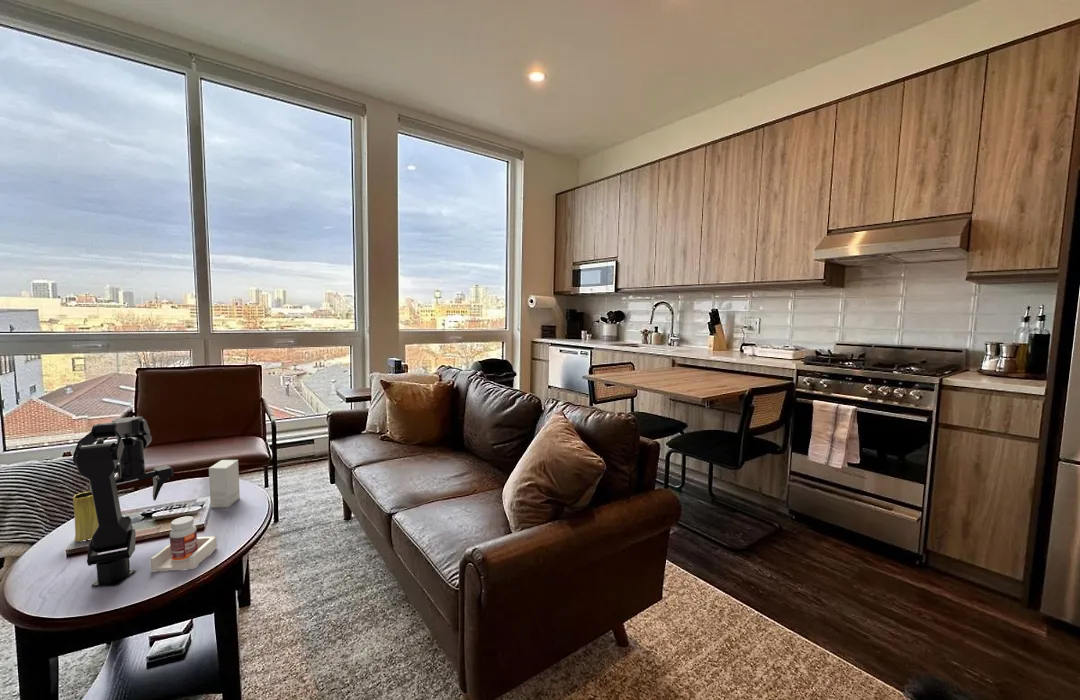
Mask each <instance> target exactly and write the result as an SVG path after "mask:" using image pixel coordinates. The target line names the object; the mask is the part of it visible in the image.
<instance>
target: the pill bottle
mask: <svg viewBox="0 0 1080 700" xmlns="http://www.w3.org/2000/svg"><path fill="white" fill-rule="evenodd" d="M194 521H195V519H194V517H193V516H190V515H185V516H182V517H178V518H175V519H173V520H171V522H170V528H171V531H170V532H169V544H170V548H171V559H172V561H175V562H182V561H186V560H189V557H190V556H191V555H192V554H193V553H194V552H195V551H196V550H198V547H197V537H198V534H197V532H198V531H197V530H198V529H197V526H196V525H195V522H194Z"/></svg>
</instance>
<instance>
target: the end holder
mask: <svg viewBox="0 0 1080 700" xmlns="http://www.w3.org/2000/svg"><path fill="white" fill-rule="evenodd" d="M217 545H218V542H217V536H215V535H212V536H197V547H198V550H196V551H195V552H194V553H193V554H192V555H191V556H190V557H189V560H186V561H182V562H175V561H172V559H171V548H170V543H168V545H166V546H165V547H163V548H162V549H161V550H160V551H158V552H157V553H156V554H154V555H152V557H150V559H149V560H150V572H151V573H152V572H153V573H158V572H157V571H161V572H169V571H168V570H180V571H187V570H186V569H194V568H195V567H196V566H197V565H198V564H199V563H200V562H202V561H203V560H204V559H205V558H206V557H207V556H208V555H209V554H210V553H211V552H212V551H214V550H215V549H216V548H218V546H217ZM216 550H217V549H216ZM216 550H215V551H216ZM215 551H214V552H215ZM211 554H212V553H211ZM211 554H210V555H211ZM210 555H209V556H210ZM209 556H208V557H209ZM208 557H207V558H208ZM207 558H206V559H207ZM206 559H205V560H206ZM205 560H204V561H205ZM204 561H203V562H204ZM203 562H202V563H203ZM196 568H197V567H196ZM196 568H195V569H196ZM184 569H185V570H184ZM195 569H194V570H195Z"/></svg>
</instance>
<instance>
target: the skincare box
mask: <svg viewBox="0 0 1080 700" xmlns="http://www.w3.org/2000/svg"><path fill="white" fill-rule="evenodd" d="M239 472H240V471H239V459H221V460H219V461H218V462H216V463H215V464H213V465H211V466H210V467H208V479H209V480H208V481H209V498H210V503H209V504H210V509H215V508H216V509H217V508H219V509H220V508H229V507H230V506H232V505H233V504H234V503H235V502H236V501H238V500H239V499H240V497H241V495H240V494H241V491H240V475H239V474H240V473H239Z"/></svg>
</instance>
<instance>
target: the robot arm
mask: <svg viewBox="0 0 1080 700" xmlns="http://www.w3.org/2000/svg"><path fill="white" fill-rule="evenodd" d="M106 438H115V439H116V441H117V442H116V443H115V442H106V443H96V442H97V441H98V440H99V439H106ZM152 440H153V436H152V435H151V430H150V428H149V425H148V421H147V420H146V419H144V417H143V416H131V417H119V418H118V417H117V418H116V417H115V419H113V420H112V421H111V422H101V423H100V422H99V423H97V424H94V425H92V428H91V429H90V432H89V433H88V434H86V435H85V436H84V437H82V438H81V439H79V440H78V442H77V444H76V447H75V449H74V452H73V455H72V462H73V464H74V465H76V468H77V471H78V474H79V475H82V476H83V477H84V478H85V479H87V480H88V481H89V484H88V485H89V486H88V487H89V492H90V491H91V493H92V495H93V500H94V505H95V510H96V515H97V520H98V525H99V526H98V527H97V529H96V531H95V533H94V535H93V537H92V539H91V540H90V541H89V545H88V550H87V558H86V564H87V567H91V566H94V565H96V577H97V580H96V581H94V582H93V583H91V587H92V588H93V587H110V586H119V585H120V584H121V583H123V582H124V581H125V580H126V579H128V578H130V576H132V575H133V574H134V573H135V572H137V571H136V569H130V568H131V565H130V558H131V557H132V555H133V554H134V552H135V551H136V529H135V528H133V524H132V518H131V517H130V516H129V515H127V516H123V515H122V511H121V510H122V509H121V505H120V498H119V493H118V488H117V487H118V486H121V485H125V484H129V483H134V482H138V481H142V480H143V481H144V480H147V479H151V478H152V482H153V483H152V499H153V502H154V501H156V500H157V498H158V495H159V493H160V491H161V489H162V488H163V485H165V482H166V481H169V479H170V478H173V477H175V475H174V469H173V468H172V466H170V465H168V464H164V465H160V466H155V467H153V470H152V471H148V472H146V467H145V466H146V465H145V451H144V450H145V449H146V448H147V447H148V446H149V445H151V444H150V443H152ZM95 443H96V444H95ZM115 474H117V476H118V477H119V478H116V477H115ZM105 552H106V553H105Z"/></svg>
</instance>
